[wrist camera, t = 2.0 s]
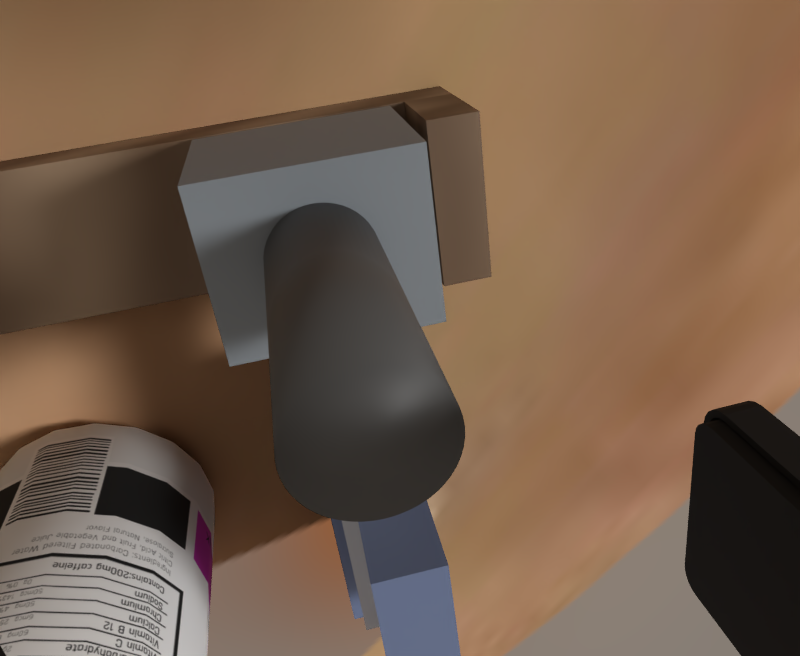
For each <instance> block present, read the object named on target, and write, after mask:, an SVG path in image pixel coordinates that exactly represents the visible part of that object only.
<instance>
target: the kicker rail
mask: <svg viewBox="0 0 800 656" xmlns="http://www.w3.org/2000/svg"><path fill="white" fill-rule="evenodd" d="M385 106H391V107H392V108H393V109H394V110H395V111H396V112H397V113H398V114H399V115H400V116H401V117H402V118H403V119H404V120H405V121H406V122H407V123H408V124H409V125H410V126H411V127H412V128H413V129H414V130H415V131H416V132H417V133H418V134H419V135H420V136H421V137H422V138H423V139H424V140H425V141H426V143H427V152H428V161H429V170H430V179H431V188H432V197H433V206H434V215H435V224H436V233H437V243H438V252H439V261H440V270H441V279H442V283H443V285H444V286H448V285H453V284H457V283H462V282H467V281H472V280H477V279H482V278H487V277H491V265H490V251H489V237H488V224H487V210H486V196H485V183H484V169H483V155H482V142H481V128H480V114H479V111H478V110H477V109H475V108H473V107H472V106H470V105H469V104H467V103H465V102H464V101H462V100H461V99H459V98H457V97H456V96H454V95H453V94H451V93H450V92H448V91H446V90H445V89H443V88H442V87H440V86H439V87H433V88H427V89H422V90H416V91H410V92H404V93H398V94H392V95H387V96H381V97H375V98H369V99H363V100H357V101H352V102H346V103H340V104H334V105H328V106H322V107H316V108H311V109H305V110H299V111H293V112H287V113H281V114H276V115H270V116H264V117H258V118H252V119H246V120H241V121H235V122H229V123H223V124H217V125H211V126H206V127H200V128H194V129H188V130H182V131H176V132H171V133H165V134H159V135H153V136H147V137H141V138H136V139H130V140H124V141H118V142H112V143H106V144H101V145H95V146H89V147H83V148H77V149H71V150H66V151H60V152H54V153H48V154H42V155H36V156H31V157H25V158H19V159H13V160H7V161H1V162H0V334H5V333H10V332H15V331H20V330H25V329H30V328H36V327H41V326H46V325H51V324H56V323H61V322H66V321H71V320H76V319H81V318H86V317H91V316H96V315H102V314H107V313H112V312H117V311H122V310H127V309H132V308H137V307H142V306H147V305H152V304H157V303H162V302H167V301H173V300H178V299H183V298H188V297H193V296H198V295H203V294H208V290H207V287H206V283H205V280H204V276H203V273H202V269H201V266H200V262H199V259H198V256H197V252H196V249H195V245H194V242H193V238H192V235H191V231H190V228H189V224H188V221H187V218H186V214H185V211H184V207H183V204H182V200H181V197H180V193H179V190H178V187H177V186H178V183H179V180H180V177H181V173H182V170H183V167H184V164H185V161H186V157H187V154H188V151H189V148H190V145H191V141H192V140H194V139H200V138H206V137H211V136H217V135H223V134H229V133H235V132H240V131H246V130H252V129H258V128H263V127H269V126H275V125H281V124H287V123H292V122H298V121H304V120H310V119H315V118H321V117H327V116H333V115H339V114H344V113H350V112H356V111H362V110H367V109H373V108H379V107H385Z"/></svg>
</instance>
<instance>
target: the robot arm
mask: <svg viewBox="0 0 800 656" xmlns="http://www.w3.org/2000/svg"><path fill="white" fill-rule="evenodd" d="M688 519H689V520H688V531H687V545H686V557H685V571H686V576H687V579H688V582H689V584H690V586H691V588H692V590H693V591H694V593H695V594H696V596H697V597H698V599H699V600H700V601H701V603H702V604H703V605H704V607H705V608H706V609H707V610H708V612H709V613H710V615H711V616H712V617H713V618H714V620H715V621H716V622H717V624H718V625H719V627H720V628H721V629H722V631H723V632H724V633H725V635H726V636H727V637H728V638H729V640H730V641H731V643H732V644H733V645H734V647H735V648H736V649H737V651H738V652H739V653H740V655H741V656H800V436H798V435H797V434H796V433H795V432H793V431H792V430H791V429H790V428H788V427H787V426H786V425H785V424H783V423H782V422H781V421H780V420H779V419H777V418H776V417H775V416H774V415H772V414H771V413H770V412H769V411H767V410H766V409H765V408H764V407H762V406H761V405H759V404H758V403H756V402H753V401H746V402H742V403H738V404H734V405H730V406H726V407H722V408H718V409H714V410H711V411H709V412H708V413H707V415H706V416H705V420H704V423H702V424H700V425H698V427H697V428H696V432H695V441H694V454H693V467H692V480H691V493H690V506H689V518H688ZM0 656H6V654H5V653H4V651H3V649H2V648H1V646H0Z"/></svg>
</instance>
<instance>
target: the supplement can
mask: <svg viewBox="0 0 800 656" xmlns="http://www.w3.org/2000/svg"><path fill="white" fill-rule="evenodd" d="M214 526H215V508H214V490H213V489H212V487H211V485H210V483H209V481H208V479H207V477H206V475H205V473H204V472H203V470H202V468H201V466H200V464H199V463H198V462H196V461H195V460H194V459H193V458H192V457H190V456H189V455H188V454H187V453H186V452H184V451H183V450H182V449H181V448H180V447H179V446H177V445H176V444H175V443H174V442H172V441H169V440H167V439H164V438H162V437H159V436H157V435H154V434H152V433H149V432H147V431H144V430H142V429H139V428H137V427H127V426H117V425H107V424H97V423H94V424H89V425H83V426H77V427H72V428H66V429H60V430H55V431H52V432H50V433H48V434H47V435H45V436H43V437H41V438H39V439H37V440H35V441H33V442H31V443H29V444H27V445H25V446H23V447H21V448H20V449H19V450H18V451H17V452H16V453H15V454H14V455H13V456H12V458H11V459H10V460H9V461H8V462H7V463H6V464H5V465H4V466H3V468H2V469H1V470H0V646H1V648H2V649H3V651H4V653H5V654H6V656H207V650H208V632H209V614H210V597H211V579H212V562H213V544H214Z"/></svg>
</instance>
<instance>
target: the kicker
mask: <svg viewBox="0 0 800 656" xmlns="http://www.w3.org/2000/svg"><path fill="white" fill-rule="evenodd" d="M177 187H178V190H179V193H180V197H181V200H182V204H183V207H184V211H185V214H186V218H187V221H188V224H189V228H190V231H191V235H192V238H193V242H194V245H195V249H196V252H197V256H198V259H199V262H200V266H201V269H202V273H203V276H204V280H205V283H206V287H207V290H208V294H209V297H210V300H211V304H212V307H213V311H214V314H215V318H216V321H217V325H218V328H219V331H220V335H221V338H222V342H223V345H224V349H225V352H226V356H227V359H228V363H229V366H230V367H231V366H235V365H240V364H245V363H250V362H255V361H259V360H264V359H269V367H270V385H271V403H272V420H273V438H274V455H275V463H276V469H277V472H278V474H279V477H280V479H281V481H282V483H283V485H284V486H285V488H286V489H287V491H288V492H289V493H290V494H291V496H292V497H294V498H295V499H296V500H297V501H298V502H299V503H300V504H302V505H303V506H305V507H306V508H307V509H309V510H311V511H313V512H315V513H317V514H320V515H322V516H325V517H328V518H331V521H332V525H333V529H334V534H335V538H336V542H337V546H338V551H339V555H340V559H341V563H342V567H343V571H344V576H345V580H346V584H347V589H348V593H349V597H350V601H351V605H352V610H353V613H354V618H355V619H357V618H361V617H364V621H365V625H366V629H367V630H369V629H372V628H376V627H380V630H381V635H382V640H383V645H384V649H385V654H386V656H461V655H460V648H459V641H458V633H457V626H456V618H455V611H454V603H453V596H452V589H451V581H450V574H449V566H448V563H447V560H446V557H445V554H444V551H443V548H442V545H441V542H440V539H439V536H438V533H437V530H436V527H435V524H434V521H433V518H432V515H431V512H430V509H429V506H428V503H427V499H429V498H430V497H431V496H432V495H433V494H435V493H436V492H437V491H438V490H439V489H440V488H441V487H442V486H443V485H444V484H445V483H446V481H447V480H448V479H449V478H450V476H451V475H452V473H453V472H454V470H455V468H456V467H457V464H458V462H459V460H460V457H461V455H462V451H463V447H464V441H465V425H464V420H463V415H462V413H461V410H460V407H459V405H458V403H457V401H456V399H455V397H454V395H453V393H452V391H451V388H450V386H449V384H448V382H447V380H446V378H445V376H444V374H443V372H442V370H441V368H440V366H439V364H438V361H437V359H436V357H435V355H434V353H433V351H432V349H431V347H430V345H429V343H428V341H427V339H426V337H425V334H424V332H423V330H422V328H421V327H422V326H427V325H432V324H436V323H441V322H446V315H445V306H444V297H443V288H442V279H441V270H440V261H439V252H438V243H437V233H436V224H435V215H434V206H433V197H432V188H431V179H430V170H429V161H428V152H427V143H426V141H425V140H424V139H423V138H422V137H421V136H420V135H419V134H418V133H417V132H416V131H415V130H414V129H413V128H412V127H411V126H410V125H409V124H408V123H407V122H406V121H405V120H404V119H403V118H402V117H401V116H400V115H399V114H398V113H397V112H396V111H395V110H394V109H393V108H392V107H391V106H385V107H379V108H373V109H367V110H362V111H356V112H350V113H344V114H339V115H333V116H327V117H321V118H315V119H310V120H304V121H298V122H292V123H287V124H281V125H275V126H269V127H263V128H258V129H252V130H246V131H240V132H235V133H229V134H223V135H217V136H211V137H206V138H200V139H194V140H192V141H191V145H190V148H189V151H188V154H187V157H186V161H185V164H184V167H183V170H182V173H181V177H180V180H179V183H178V186H177Z"/></svg>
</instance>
